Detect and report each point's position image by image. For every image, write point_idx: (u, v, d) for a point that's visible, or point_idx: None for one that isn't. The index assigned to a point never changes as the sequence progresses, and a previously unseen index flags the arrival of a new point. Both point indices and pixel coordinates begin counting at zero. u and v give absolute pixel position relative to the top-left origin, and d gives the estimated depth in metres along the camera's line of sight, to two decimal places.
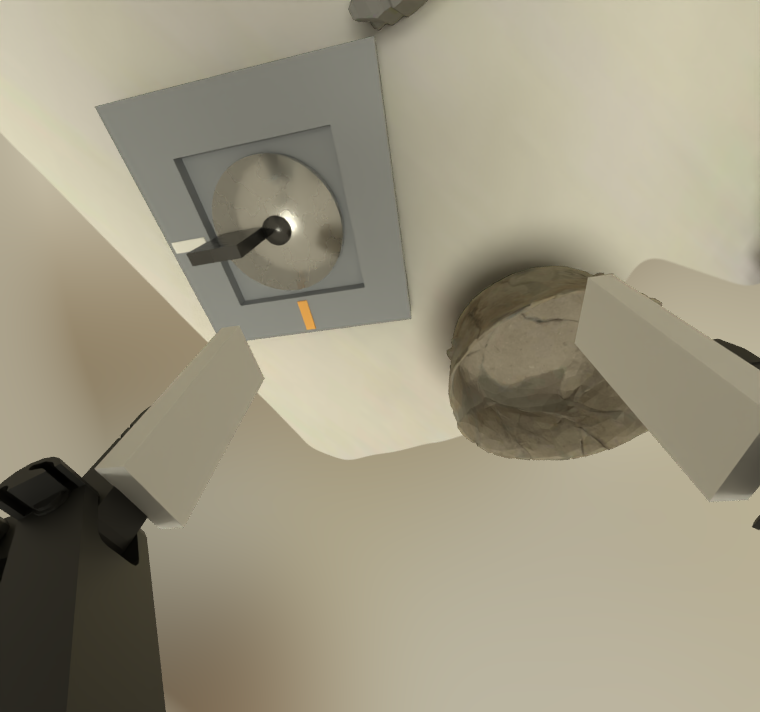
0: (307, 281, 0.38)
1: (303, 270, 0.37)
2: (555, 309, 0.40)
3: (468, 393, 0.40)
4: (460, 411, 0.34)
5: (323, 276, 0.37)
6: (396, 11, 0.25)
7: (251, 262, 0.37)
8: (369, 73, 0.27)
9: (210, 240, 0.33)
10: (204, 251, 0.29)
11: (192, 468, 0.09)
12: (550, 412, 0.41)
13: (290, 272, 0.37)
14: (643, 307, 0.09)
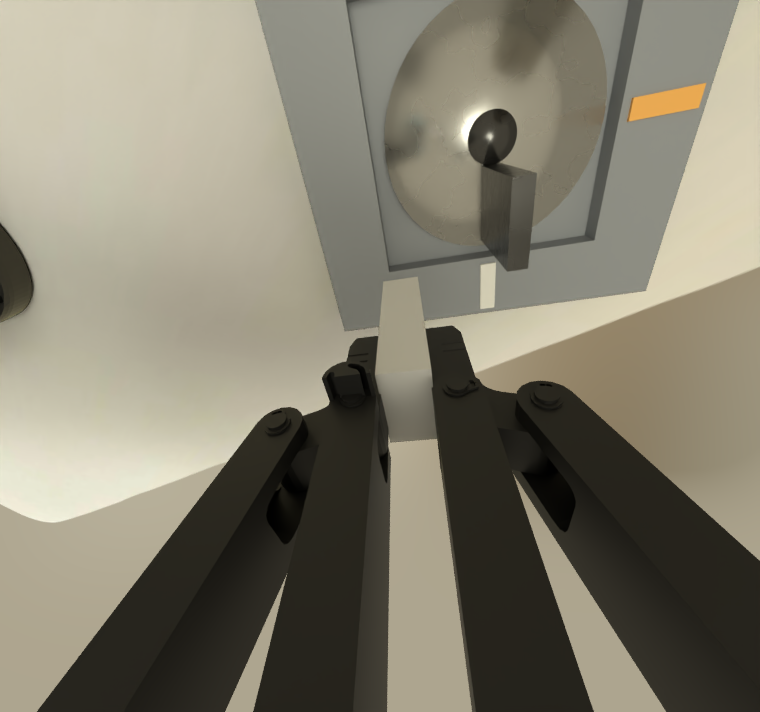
0: (595, 89, 0.19)
1: (571, 95, 0.20)
2: None
3: None
4: None
5: (597, 44, 0.18)
6: None
7: None
8: None
9: (489, 247, 0.22)
10: (510, 240, 0.18)
11: None
12: None
13: (566, 125, 0.20)
14: (409, 302, 0.12)
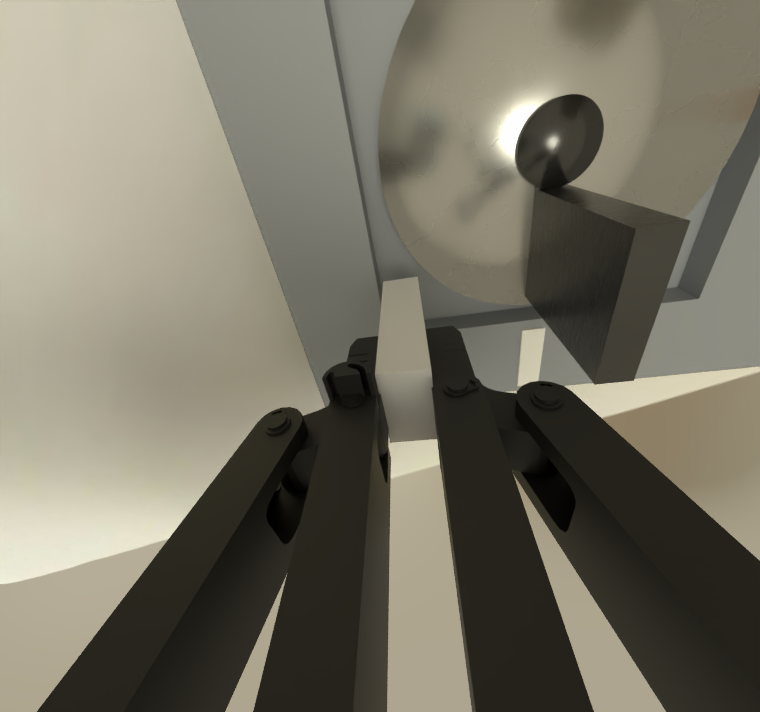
0: (747, 59, 0.11)
1: (702, 70, 0.11)
2: None
3: None
4: None
5: None
6: None
7: None
8: None
9: (545, 317, 0.14)
10: (609, 338, 0.10)
11: None
12: None
13: (686, 123, 0.12)
14: (409, 302, 0.12)
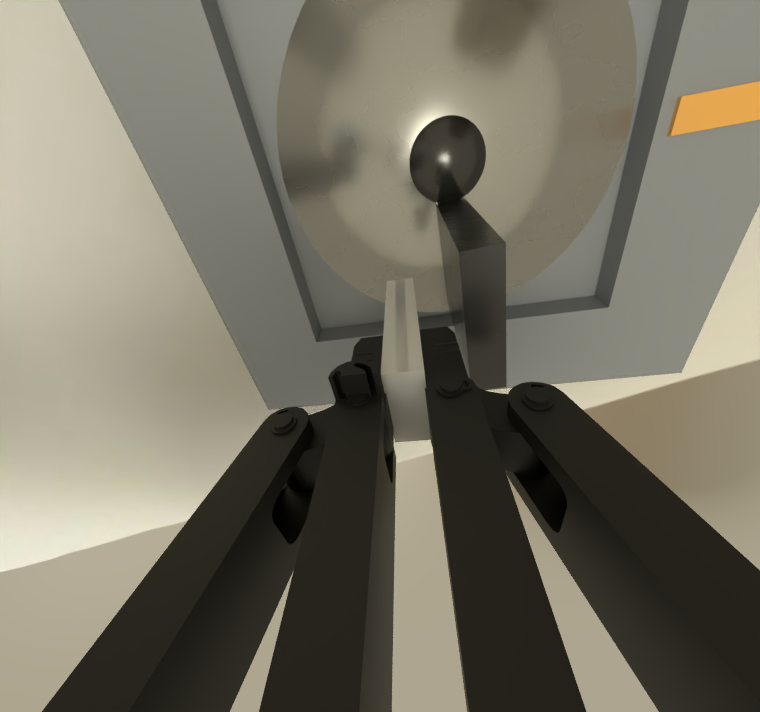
0: (615, 70, 0.11)
1: (574, 84, 0.12)
2: None
3: None
4: None
5: None
6: None
7: (518, 249, 0.15)
8: None
9: (453, 325, 0.15)
10: (469, 349, 0.10)
11: None
12: None
13: (569, 134, 0.12)
14: (404, 303, 0.12)
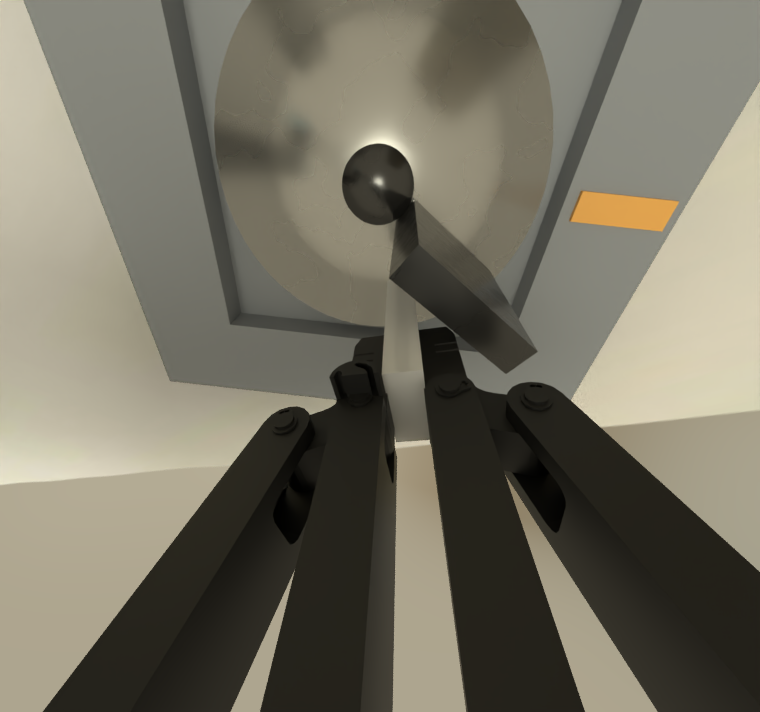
0: None
1: (435, 35, 0.11)
2: None
3: None
4: None
5: None
6: None
7: (499, 198, 0.14)
8: None
9: None
10: (470, 341, 0.10)
11: None
12: None
13: (465, 73, 0.11)
14: (403, 303, 0.12)
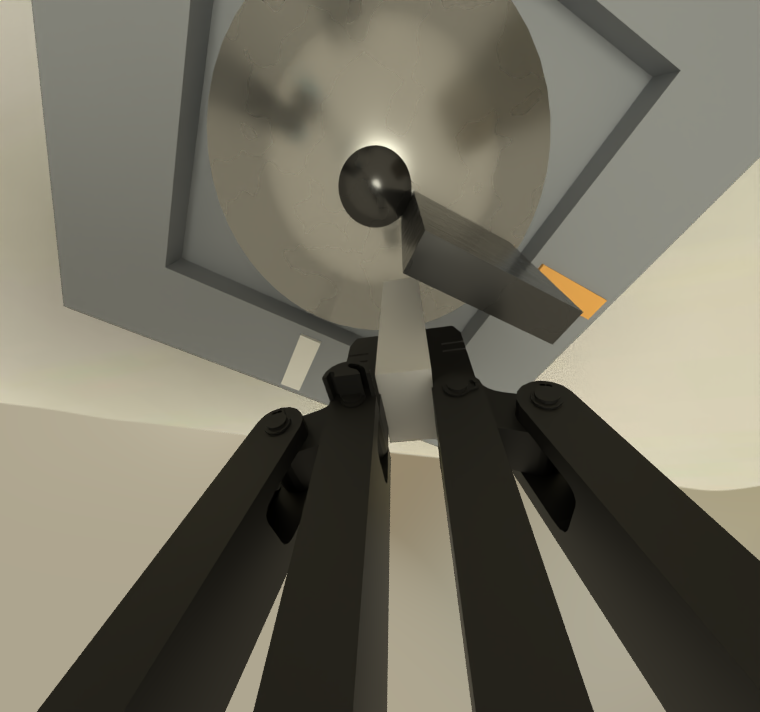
0: None
1: (398, 22, 0.11)
2: None
3: None
4: None
5: None
6: None
7: (503, 165, 0.13)
8: None
9: None
10: (504, 318, 0.09)
11: None
12: None
13: (437, 49, 0.11)
14: (409, 302, 0.12)
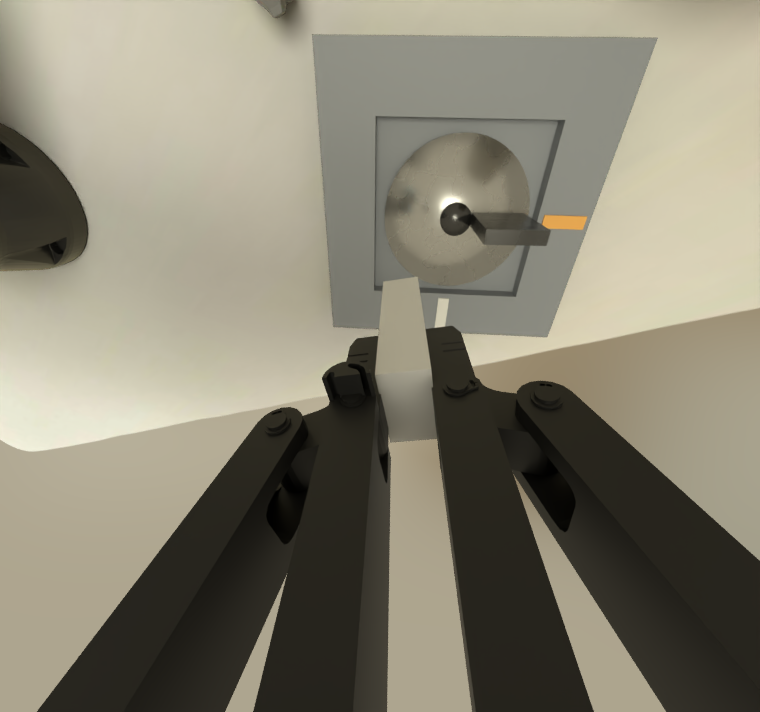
0: (448, 143, 0.28)
1: (447, 161, 0.29)
2: None
3: None
4: None
5: (424, 147, 0.28)
6: None
7: (506, 185, 0.30)
8: (340, 48, 0.25)
9: None
10: (523, 244, 0.26)
11: None
12: None
13: (464, 162, 0.29)
14: (409, 302, 0.12)
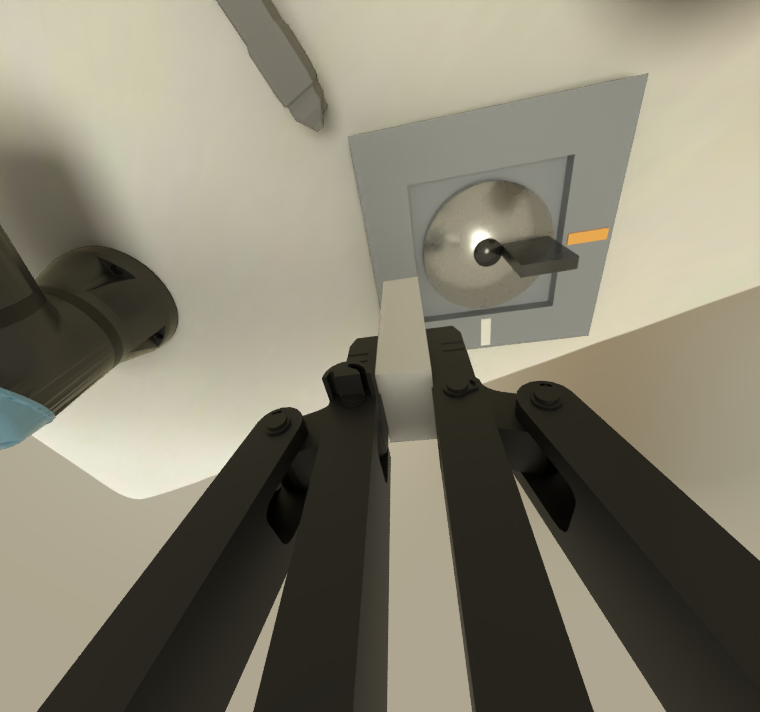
0: (472, 194, 0.32)
1: (473, 208, 0.33)
2: None
3: None
4: None
5: (452, 201, 0.33)
6: (314, 82, 0.28)
7: (529, 216, 0.33)
8: (372, 141, 0.30)
9: None
10: (556, 271, 0.30)
11: None
12: None
13: (488, 205, 0.33)
14: (409, 302, 0.12)
